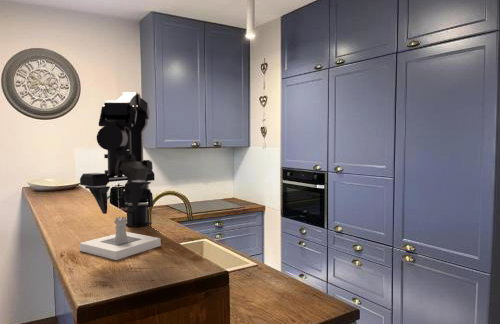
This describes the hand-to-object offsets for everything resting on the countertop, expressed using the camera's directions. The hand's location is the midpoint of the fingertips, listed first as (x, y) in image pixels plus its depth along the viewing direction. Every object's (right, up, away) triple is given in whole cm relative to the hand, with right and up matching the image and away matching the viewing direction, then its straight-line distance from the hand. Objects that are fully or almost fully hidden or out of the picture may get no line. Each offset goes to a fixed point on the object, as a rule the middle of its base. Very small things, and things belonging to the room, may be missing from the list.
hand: (120, 210), depth 91 cm
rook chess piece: (0, -10, +1) cm, 10 cm away
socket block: (0, -10, +1) cm, 10 cm away
